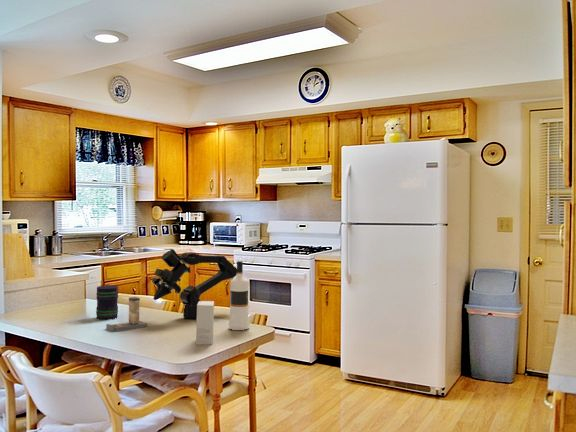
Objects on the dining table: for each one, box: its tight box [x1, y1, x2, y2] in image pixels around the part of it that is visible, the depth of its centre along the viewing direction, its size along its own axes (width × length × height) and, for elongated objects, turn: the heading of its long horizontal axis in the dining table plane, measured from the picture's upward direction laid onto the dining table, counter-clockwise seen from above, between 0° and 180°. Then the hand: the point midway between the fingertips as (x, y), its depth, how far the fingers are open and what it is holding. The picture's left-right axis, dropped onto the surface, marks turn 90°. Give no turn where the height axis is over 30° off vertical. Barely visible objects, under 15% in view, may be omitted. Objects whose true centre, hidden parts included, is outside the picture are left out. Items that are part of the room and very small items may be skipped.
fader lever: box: [128, 296, 141, 324], centre depth 218 cm, size 3×4×11 cm
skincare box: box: [195, 300, 215, 346], centre depth 194 cm, size 8×7×16 cm
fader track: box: [105, 320, 148, 333], centre depth 216 cm, size 16×7×2 cm, turn 133°
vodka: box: [228, 260, 250, 331], centre depth 217 cm, size 9×9×30 cm
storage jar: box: [95, 285, 119, 321], centre depth 236 cm, size 10×10×15 cm
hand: (154, 299), depth 225 cm, fingers closed
